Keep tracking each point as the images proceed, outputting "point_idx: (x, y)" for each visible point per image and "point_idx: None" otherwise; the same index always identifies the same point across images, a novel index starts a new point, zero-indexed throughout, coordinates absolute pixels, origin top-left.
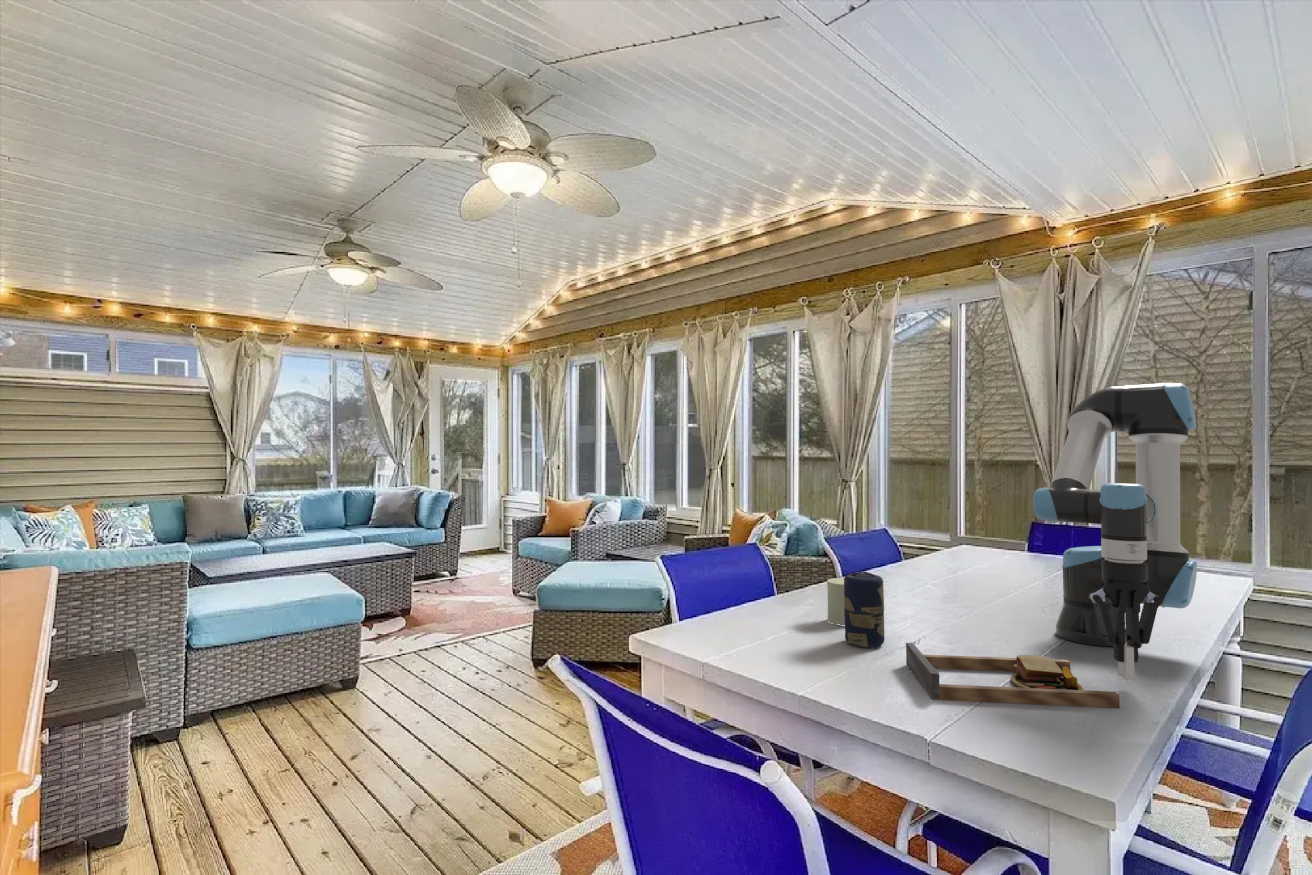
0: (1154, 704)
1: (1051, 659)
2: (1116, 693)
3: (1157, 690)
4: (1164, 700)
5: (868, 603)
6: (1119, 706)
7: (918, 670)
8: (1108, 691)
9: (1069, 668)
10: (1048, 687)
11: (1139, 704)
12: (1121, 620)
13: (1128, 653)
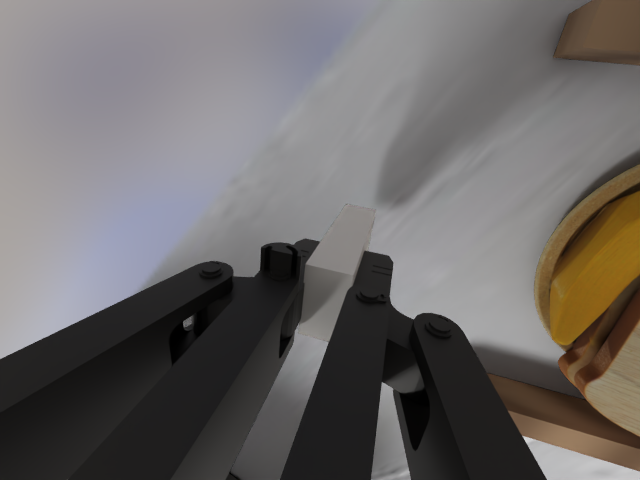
0: (369, 72)
1: (598, 396)
2: (604, 13)
3: (266, 205)
4: (303, 116)
5: None
6: (574, 11)
7: None
8: (619, 50)
9: None
10: None
11: (430, 70)
12: (331, 472)
13: (345, 253)
